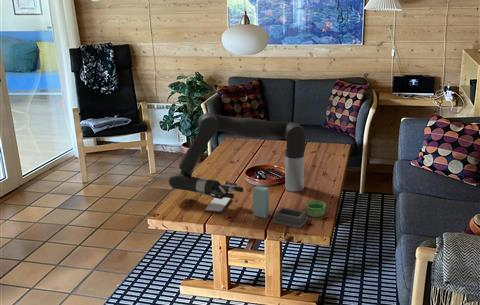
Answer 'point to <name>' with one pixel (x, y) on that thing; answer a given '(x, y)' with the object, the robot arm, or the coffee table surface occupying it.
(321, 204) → the ramekin
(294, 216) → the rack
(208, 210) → the phone case
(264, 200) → the tall teal prism
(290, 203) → the coffee table surface
